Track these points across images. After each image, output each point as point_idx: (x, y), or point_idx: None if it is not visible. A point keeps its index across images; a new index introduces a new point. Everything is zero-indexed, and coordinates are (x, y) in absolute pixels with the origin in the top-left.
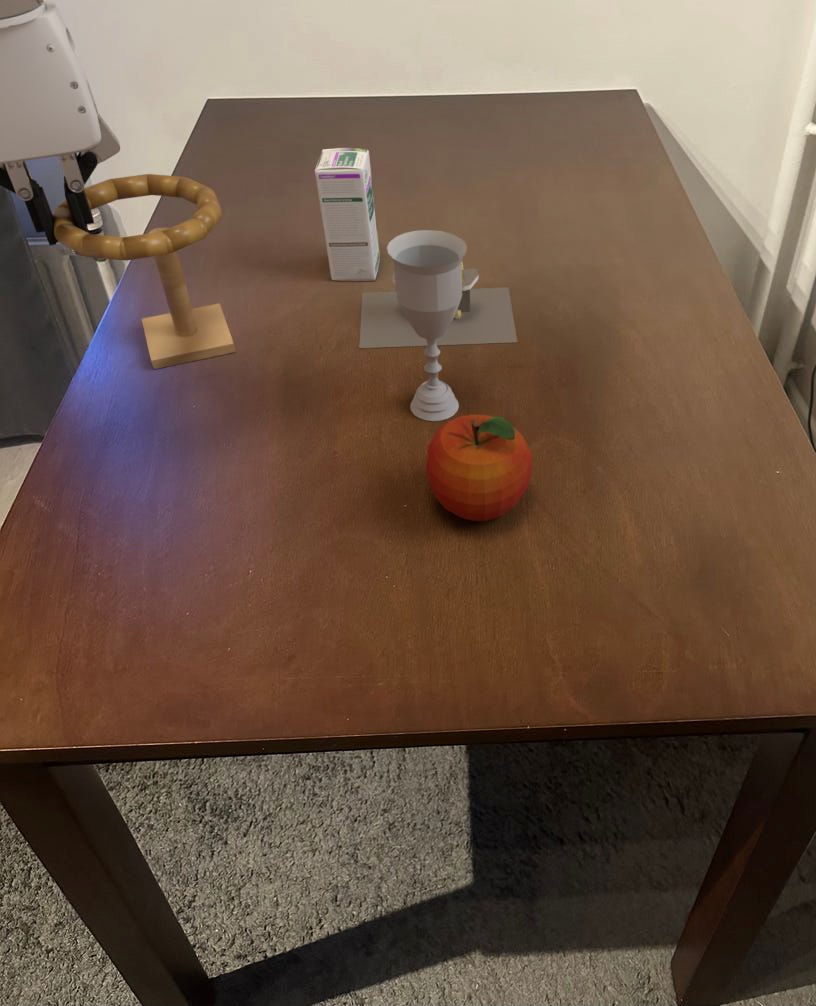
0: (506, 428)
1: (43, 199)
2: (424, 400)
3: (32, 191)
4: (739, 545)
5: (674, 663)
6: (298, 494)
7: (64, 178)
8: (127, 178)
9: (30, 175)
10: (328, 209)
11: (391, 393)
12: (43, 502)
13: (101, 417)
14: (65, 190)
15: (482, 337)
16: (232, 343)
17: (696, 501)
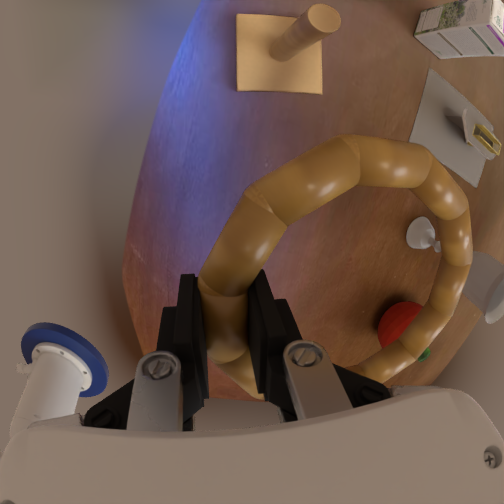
0: (426, 358)
1: (206, 383)
2: (418, 245)
3: (194, 419)
4: (441, 346)
5: (390, 385)
6: (315, 291)
7: (273, 381)
8: (393, 172)
9: (181, 383)
10: (465, 31)
11: (405, 208)
12: (139, 253)
13: (180, 154)
14: (261, 375)
15: (467, 172)
16: (321, 93)
17: (449, 326)
